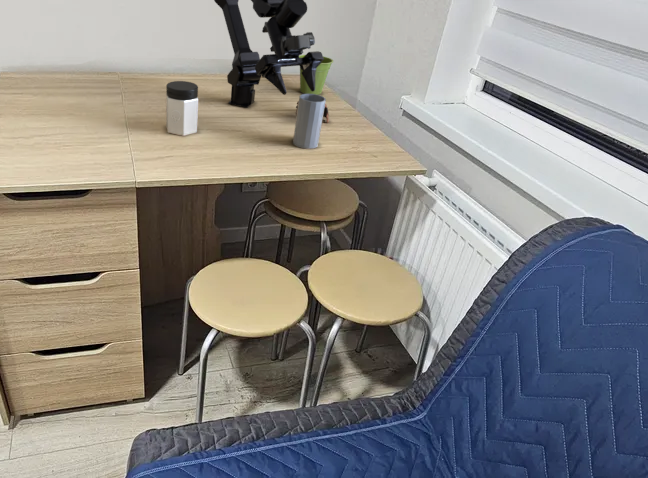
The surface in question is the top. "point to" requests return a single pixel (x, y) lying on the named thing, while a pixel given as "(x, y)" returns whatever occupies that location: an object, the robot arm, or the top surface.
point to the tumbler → (309, 120)
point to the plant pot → (316, 77)
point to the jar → (181, 107)
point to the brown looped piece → (323, 114)
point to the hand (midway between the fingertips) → (299, 92)
